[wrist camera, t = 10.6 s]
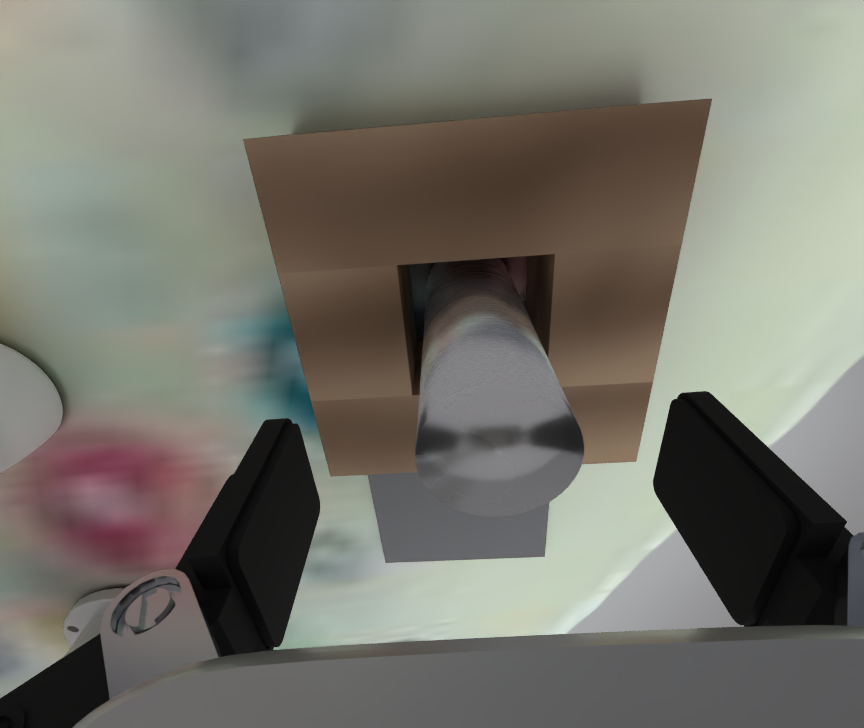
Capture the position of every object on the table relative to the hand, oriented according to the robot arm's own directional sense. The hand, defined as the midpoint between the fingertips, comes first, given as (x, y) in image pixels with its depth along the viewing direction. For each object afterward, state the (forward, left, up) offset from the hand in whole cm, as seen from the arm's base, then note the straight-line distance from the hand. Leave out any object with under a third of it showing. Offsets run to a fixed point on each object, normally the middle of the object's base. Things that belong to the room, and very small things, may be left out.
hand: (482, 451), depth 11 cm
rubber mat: (-14, +1, -11) cm, 18 cm away
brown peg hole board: (0, 0, -11) cm, 11 cm away
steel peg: (0, 0, -11) cm, 11 cm away
